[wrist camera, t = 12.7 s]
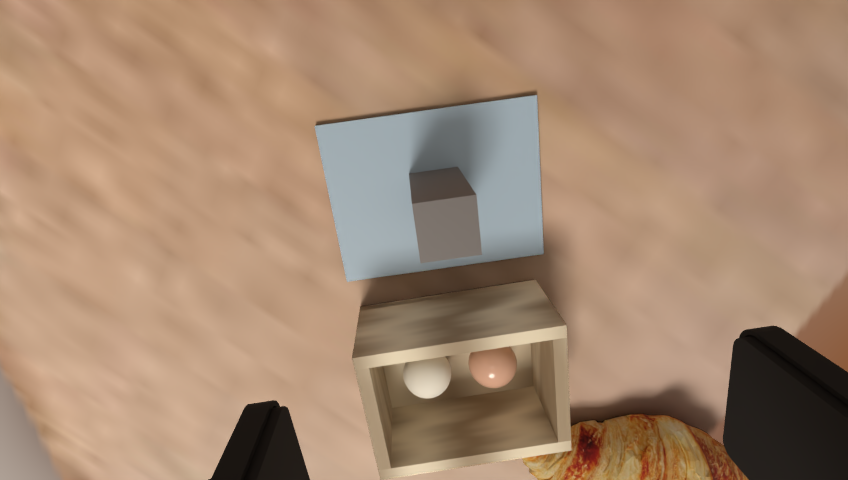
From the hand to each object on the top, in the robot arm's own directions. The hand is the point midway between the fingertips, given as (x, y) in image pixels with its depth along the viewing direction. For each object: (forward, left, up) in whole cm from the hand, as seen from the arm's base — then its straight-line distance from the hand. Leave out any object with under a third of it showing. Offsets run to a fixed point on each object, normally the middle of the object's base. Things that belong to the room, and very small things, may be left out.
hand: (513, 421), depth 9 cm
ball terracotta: (-2, +12, -19) cm, 23 cm away
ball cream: (+2, +12, -19) cm, 23 cm away
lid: (0, 0, -20) cm, 20 cm away
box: (0, +12, -20) cm, 23 cm away
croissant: (-13, +24, -20) cm, 34 cm away
